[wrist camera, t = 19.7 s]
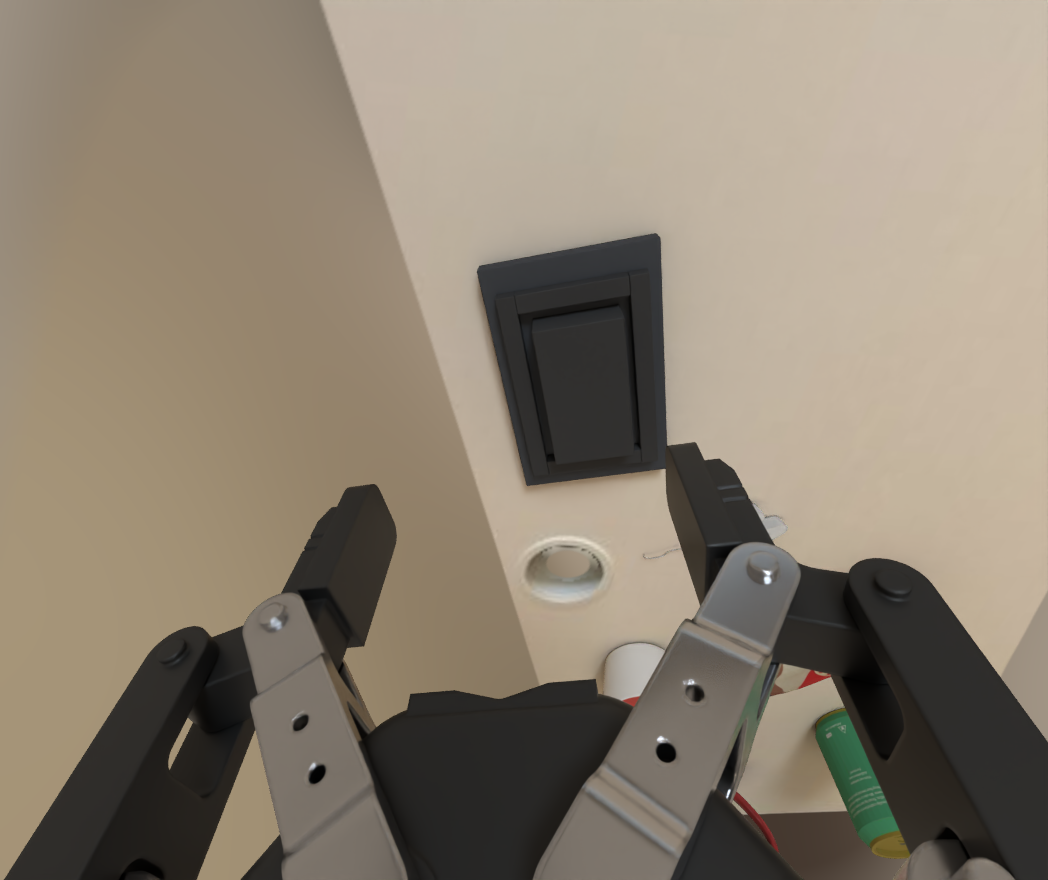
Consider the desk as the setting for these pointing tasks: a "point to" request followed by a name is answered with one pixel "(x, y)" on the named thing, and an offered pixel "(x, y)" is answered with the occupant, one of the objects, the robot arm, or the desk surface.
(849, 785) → the beverage can
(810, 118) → the desk surface
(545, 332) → the black pad
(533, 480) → the base pad
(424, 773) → the robot arm
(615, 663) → the candle
